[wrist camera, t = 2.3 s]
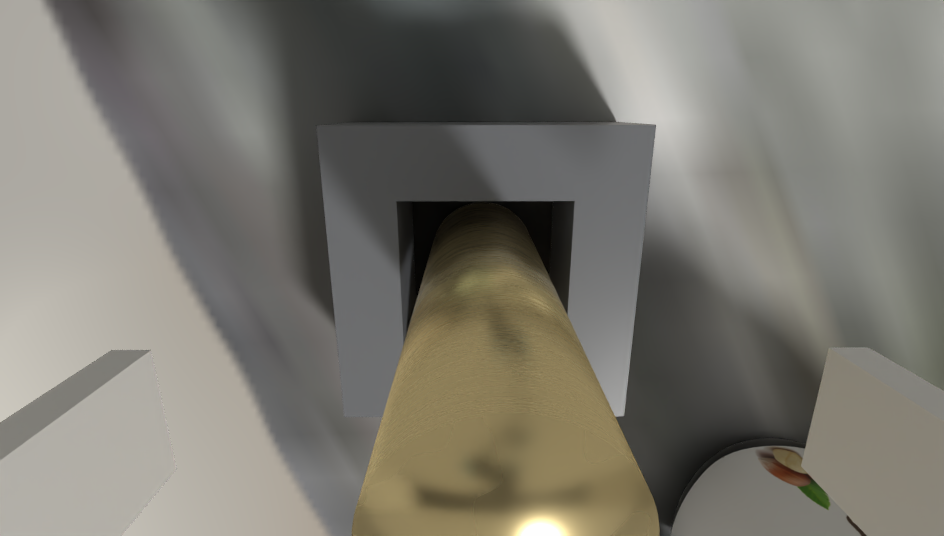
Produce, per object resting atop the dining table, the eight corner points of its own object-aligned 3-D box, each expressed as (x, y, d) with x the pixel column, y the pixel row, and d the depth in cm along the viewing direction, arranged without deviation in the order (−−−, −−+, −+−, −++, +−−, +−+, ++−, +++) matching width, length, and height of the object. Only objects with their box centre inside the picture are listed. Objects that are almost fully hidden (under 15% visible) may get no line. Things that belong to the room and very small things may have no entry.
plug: (431, 202, 19) (338, 414, 6) (533, 202, 19) (678, 414, 6) (434, 297, 20) (362, 654, 7) (530, 297, 20) (642, 653, 7)
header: (348, 122, 18) (316, 125, 14) (617, 121, 18) (656, 124, 14) (367, 361, 21) (344, 416, 17) (596, 361, 21) (624, 416, 17)
